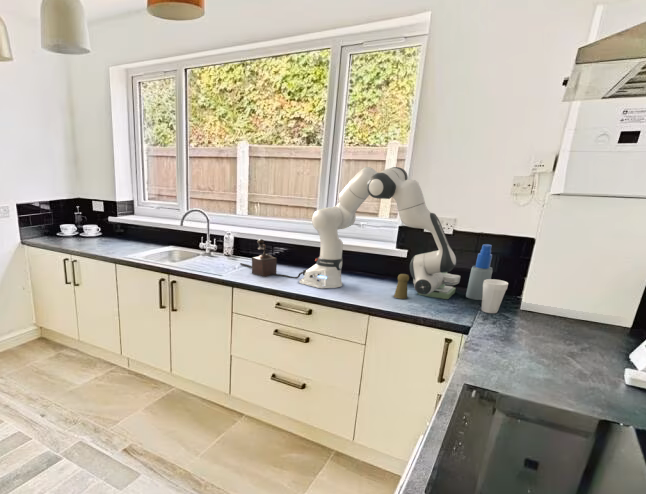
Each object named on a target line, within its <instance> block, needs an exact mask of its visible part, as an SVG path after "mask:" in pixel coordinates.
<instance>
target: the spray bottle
mask: <svg viewBox="0 0 646 494" xmlns="http://www.w3.org/2000/svg"><path fill="white" fill-rule="evenodd" d="M492 246H493V245H492V244H489V243H485V244H482V246H481V249H480V252H479V253H477V258H476V262H475V265H472V267H471V269H470V273H469V279H468V283H467V288H466V293H465V298H468V299H469V300H470V299H471V300H475V301H482V294H483V282H484V280H486V279H492V274H493V271H494V270H493V267H491V263H492V259H493V253H492Z"/></svg>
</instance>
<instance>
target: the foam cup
mask: <svg viewBox="0 0 646 494" xmlns="http://www.w3.org/2000/svg"><path fill="white" fill-rule="evenodd" d="M508 286H509V282H508V281H505V280H501V279H495V278H493V279H492V278H491V279H486V280H484V282H483V294H482V300H481V308H480V309H481V312H484V313H487V314H497V313H498V311H499V309H500V306H501V304H502V301H503V299H504V296H505V294H506V291H507V290H508Z"/></svg>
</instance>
